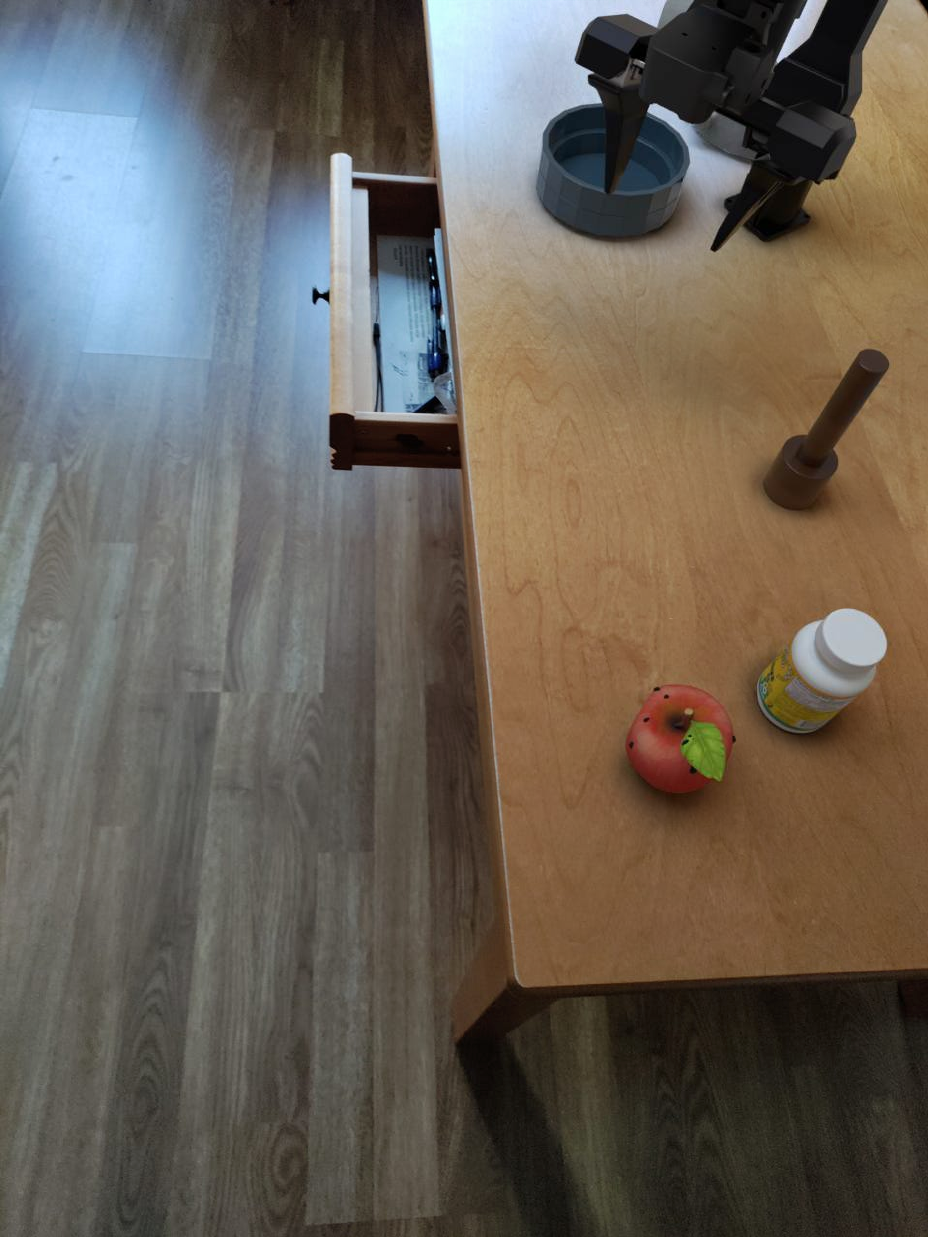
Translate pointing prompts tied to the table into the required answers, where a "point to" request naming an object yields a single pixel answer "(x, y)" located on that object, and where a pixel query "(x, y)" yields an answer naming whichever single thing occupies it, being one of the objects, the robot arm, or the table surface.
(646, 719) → the apple
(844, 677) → the supplement bottle
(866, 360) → the pestle
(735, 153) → the dish
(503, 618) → the table surface
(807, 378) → the table surface
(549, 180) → the bowl
